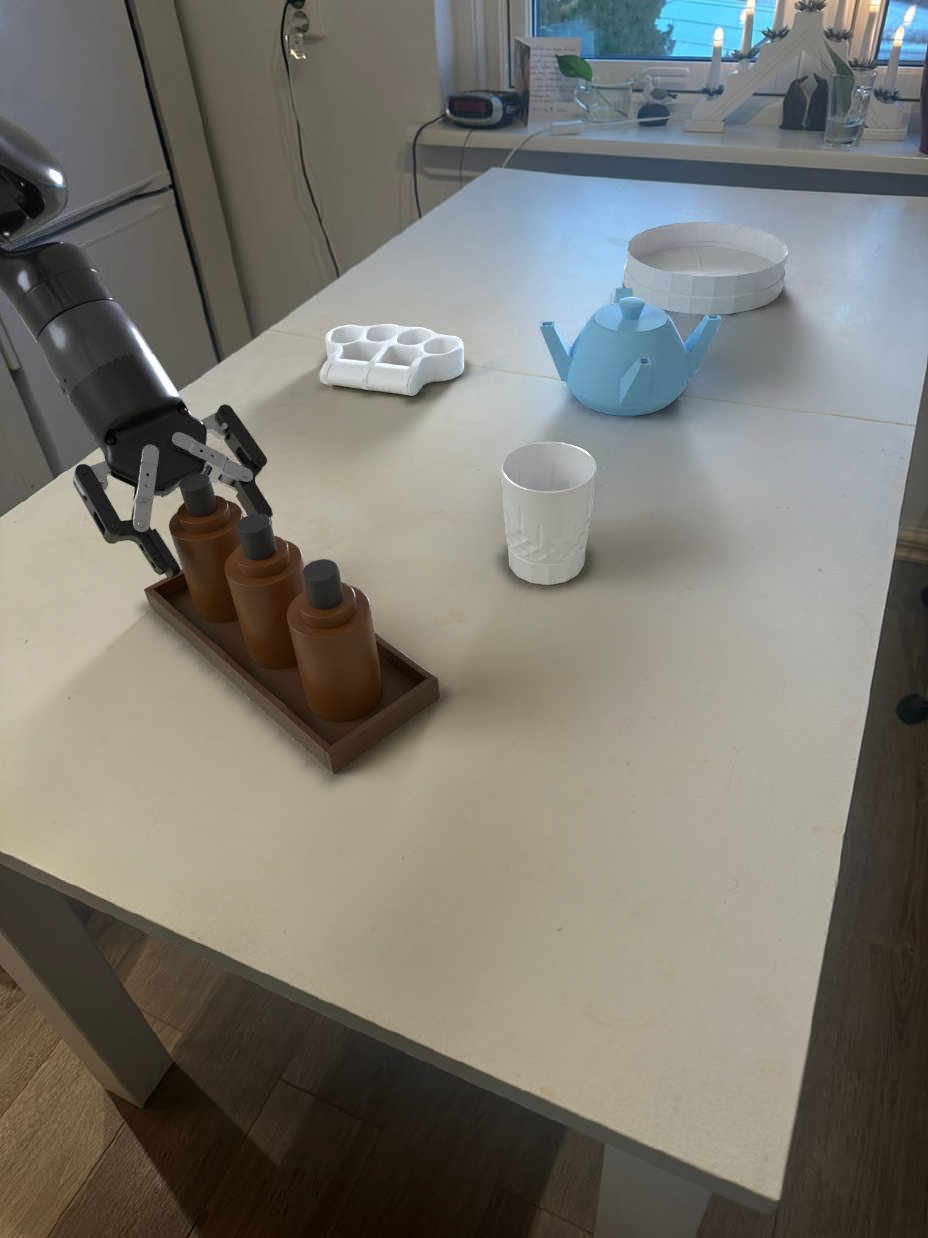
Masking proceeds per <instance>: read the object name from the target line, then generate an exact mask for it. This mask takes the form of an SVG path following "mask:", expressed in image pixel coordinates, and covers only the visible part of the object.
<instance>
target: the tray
mask: <svg viewBox="0 0 928 1238" xmlns="http://www.w3.org/2000/svg"><path fill="white" fill-rule="evenodd" d="M143 592H144V594H145V598H146V600H147V602H148V605H149V607H150V609H151V610H152V611H154V612H155V613H156V614H157V615H158V616H159V617H160V618H161V619H163V620H164V621H165V623H167V624H168V625H169V626H170V627H171V628H172V629H173V630H174V631H176V632H177V633H178V634H179V635H180V636H181V637H182V638H183V639H185V641H187V642H188V643H189V645H191V646H192V647H193V648H194V649H195V650H196V651H197V652H199V653H200V654H201V656H203V657H204V658H205V659H207V661H209V662H210V663H211V664H212V665H213V667H215V668H216V669H217V670H218V671H220V672H221V673H222V674H223V675H224V676H225V677H226V678H227V679H228V680H230V681H231V682H232V683H233V684H234V685H235V686H236V687H237V688H238V689H239V690H240V691H242V692H243V693H244V694H245V695H246V696H247V697H248V698H250V700H252V701H253V702H254V704H256V705H257V706H258V707H259V708H260V709H262V711H264V712H265V713H266V714H267V715H268V716H269V717H270V718H271V719H272V720H274V721H275V723H277V724H278V725H279V726H280V727H281V728H283V730H284V731H285V732H286V733H288V734H289V735H290V736H291V737H292V738H293V739H294V740H296V741H297V742H298V743H299V744H300V745H301V746H302V747H303V748H304V749H305V750H307V752H308V753H310V754H311V755H312V756H313V757H315V759H316V760H317V761H318V762H319V763H321V764H322V765H323V766H324V767H325V768H326V769H327V770H329V772H331V773H332V774H333V775H334V774H336V773H338V772H339V771H340V770H342V769H343V768H345V767H346V766H347V765H349V764H350V763H351V762H353V761H354V760H355V759H357V758H358V757H360V756H361V755H362V754H364V753H365V752H366V751H368V750H369V749H371V748H372V747H373V746H375V745H376V744H378V742H380V741H382V740H383V739H384V738H386V737H387V736H389V735H390V734H391V733H392V732H394V731H395V730H397V729H398V728H400V727H402V725H404V724H405V723H407V722H408V721H410V719H412V718H414V717H415V716H416V715H418V714H419V713H420V712H423V710H424V709H426V708H427V707H429V706H430V705H432V704H433V703H434V702H436V701H437V700H438V699H439V698H440V685H439V678H438V677H437V676H435V675H434V674H433V673H432V672H430V671H429V670H427V669H426V668H424V666H422V665H420V664H419V663H417V662H416V661H415V660H414V659H412V658H411V657H409V656H408V655H407V654H405V653H404V652H403V651H401V650H400V649H398V648H397V647H396V646H394V645H393V644H392V643H390V642H389V641H387V640H386V639H385V638H383V637H382V636H380V635H379V634H378V633H377V632H375V631H374V633H375V640H376V646H377V653H378V659H379V666H380V672H381V679H382V685H383V694H382V698H381V700H380V702H379V704H378V705H377V706H376V707H375V708H374V709H373V710H372V711H371V712H370V713H368V714H367V715H365V716H363V717H361V718H359V719H356V720H353V721H348V722H331V721H327V720H324V719H322V718H320V717H318V716H316V715H315V714H314V713H313V712H312V711H311V710H310V708H309V706H308V704H307V700H306V696H305V692H304V688H303V683H302V679H301V675H300V671H299V667H298V665H296V666H294V667H290V668H285V669H269V668H265V667H262V666H260V665H258V664H256V663H255V662H254V661H253V660H252V659H251V658H250V656H249V654H248V650H247V647H246V643H245V640H244V636H243V633H242V629H241V626H240V622H239V619H238V620H234V621H229V622H213V621H209V620H206V619H204V618H202V617H201V616H200V615H199V614H198V613H197V611H196V609H195V606H194V603H193V600H192V597H191V594H190V591H189V588H188V585H187V582H186V579H185V576H184V573H183V570H182V569H181V571H180V572H179V574H178V575H177V576H175V577H173V578H171V579H169V578H168V577H167V576H166V577H165V578H163V579H160V580H159V581H157V582H155V583H153V584H151V585H149V586H147V587H145V588H144V589H143Z"/></svg>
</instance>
